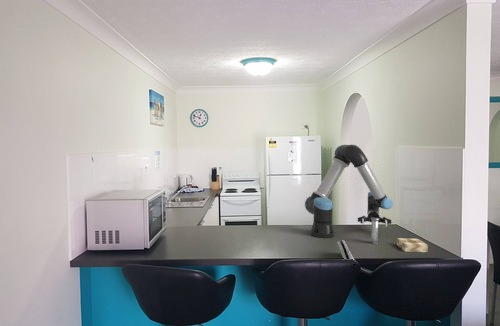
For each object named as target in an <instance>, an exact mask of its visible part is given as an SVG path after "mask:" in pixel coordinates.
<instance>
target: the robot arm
mask: <svg viewBox="0 0 500 326" xmlns="http://www.w3.org/2000/svg"><path fill="white" fill-rule="evenodd" d="M332 160H333V163H332V164H331V166H330V167H329V169H328V171H327V173H326V174H325V175H324V177H323V179H322V181H321V183H320V184H319V186H318V187H317V190H316V191H313V192H312V194H311V195H310V196H308V197H307V198H306V199H305V201H304V208H305V210H306V211H307V212H308V213H309V214H311V215H313V223H312V226H311V229H310V236H313V237H316V238H320V239H321V238H323V239H325V238H326V239H327V238H334V237H335V230H334V225H333V200H331V199H330V198H329V196H330V194H331V192H332V190H333V189H334V187H335V185H336V183H337V181H338V180H339V178H340V177H341V176H342V174H343V172H344V170H345V168H348V167H349V166H350V164H352V166H353V167H354V168H355V169H357V171H358V172H359V174H360V176H361V178H362V180H363V181H364V183H365V185H366V186H367V188H368V190H369V191H368V192H367V213H366V214H367V216H366V215H362V216H359V217H357V222H358V223H359V222H360V224H362V226H363V225H364V224H365V222H369V223H371V224H372V220H371V218H372V217H375V218H379V221H378V223H382V224H385V227H388V225H392V219H390V218H388V217H385V216H383V217H381V215H380V209H382V210H390V209H391V208H392V207H393V206H394V203H393V200H392V199H391V198H389V197H388V196H387V194H386V193H385V191H384V189H383V188H382V186H381V184H380V183H379V181H378V178H377V177H376V175H375V173H374V171H373V170H372V168H371V166H370V164H369V163H368V162H369V159H368V157H367V156H366V155H365V153H364V152H363V150H362V149H361V147H359V145H358V146H357V145H356V144H340V145H338V146H337V147H336V148H335V150H334V156H333V158H332Z"/></svg>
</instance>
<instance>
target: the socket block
mask: <svg viewBox="0 0 500 326" xmlns="http://www.w3.org/2000/svg"><path fill="white" fill-rule="evenodd" d="M396 246H398V248H400V249H401V250H402V251H404V252H413V253H416V252H417V253H428V251H429V245H428V244H427V242H424V241H422V240H421V239H419V238H408V237H407V238H406V237H405V238H401V237H399V238H398V237H397V238H396Z"/></svg>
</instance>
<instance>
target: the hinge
mask: <svg viewBox="0 0 500 326" xmlns="http://www.w3.org/2000/svg"><path fill="white" fill-rule="evenodd" d="M336 243H337V245H338V249H339V252H340V255H341V256H342V259H343V258H344V259H353V260H355V258H354V257H353V255H352V253H351V251H350V248H349V247H348V245H347V243H346V241H345V240H344V239H343V240H341V241H340V240H339V241H337V242H336ZM344 259H343V260H344Z"/></svg>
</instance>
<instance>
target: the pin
mask: <svg viewBox="0 0 500 326" xmlns="http://www.w3.org/2000/svg"><path fill="white" fill-rule="evenodd" d="M371 220H372V223H371V240H370V241H371V242H370V243H371V244H373V245H378V242H379V241H378V240H379V222H378V221H379V218H375V217H372V218H371Z"/></svg>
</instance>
